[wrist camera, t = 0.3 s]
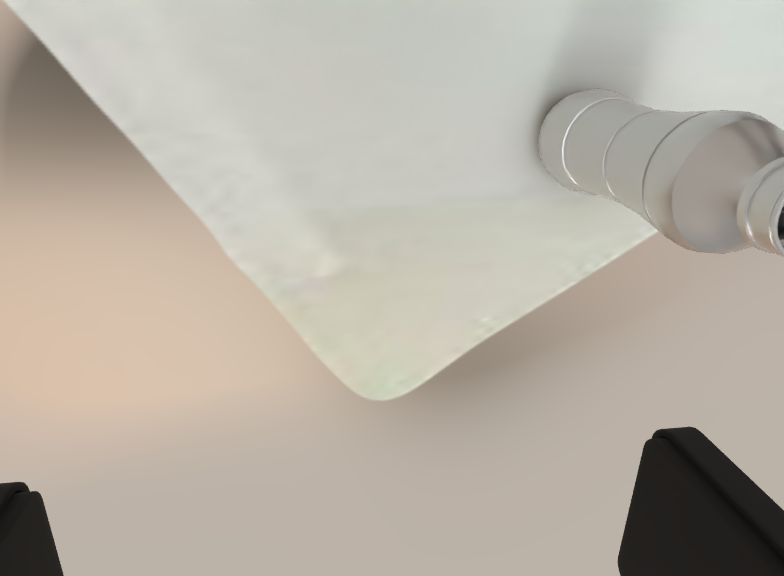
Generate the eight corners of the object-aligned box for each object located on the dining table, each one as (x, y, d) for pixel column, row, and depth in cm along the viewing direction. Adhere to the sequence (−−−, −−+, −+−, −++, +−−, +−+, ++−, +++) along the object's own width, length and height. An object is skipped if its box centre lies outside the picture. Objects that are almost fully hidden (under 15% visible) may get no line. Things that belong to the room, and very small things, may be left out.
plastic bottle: (567, 65, 37) (828, 83, 19) (639, 121, 39) (936, 186, 21) (509, 152, 39) (698, 246, 20) (582, 201, 41) (811, 325, 23)
